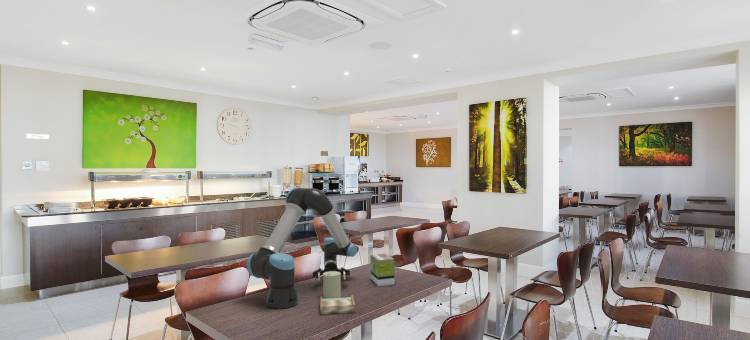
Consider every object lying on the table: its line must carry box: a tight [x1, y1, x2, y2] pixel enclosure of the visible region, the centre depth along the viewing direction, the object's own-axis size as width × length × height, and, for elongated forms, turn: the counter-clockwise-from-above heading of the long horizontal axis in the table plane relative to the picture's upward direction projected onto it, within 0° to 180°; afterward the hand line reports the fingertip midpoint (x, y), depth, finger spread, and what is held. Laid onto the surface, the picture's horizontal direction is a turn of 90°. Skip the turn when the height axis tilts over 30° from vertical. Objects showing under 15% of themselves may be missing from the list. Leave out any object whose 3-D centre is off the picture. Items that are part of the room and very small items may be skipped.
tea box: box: [369, 253, 396, 287], centre depth 234 cm, size 15×10×15 cm
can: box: [322, 271, 342, 299], centre depth 210 cm, size 9×9×12 cm
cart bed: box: [319, 294, 356, 315], centre depth 192 cm, size 16×16×4 cm
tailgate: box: [322, 296, 351, 301], centre depth 202 cm, size 16×4×1 cm, turn 97°
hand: (331, 277), depth 218 cm, fingers open, 13 cm apart
